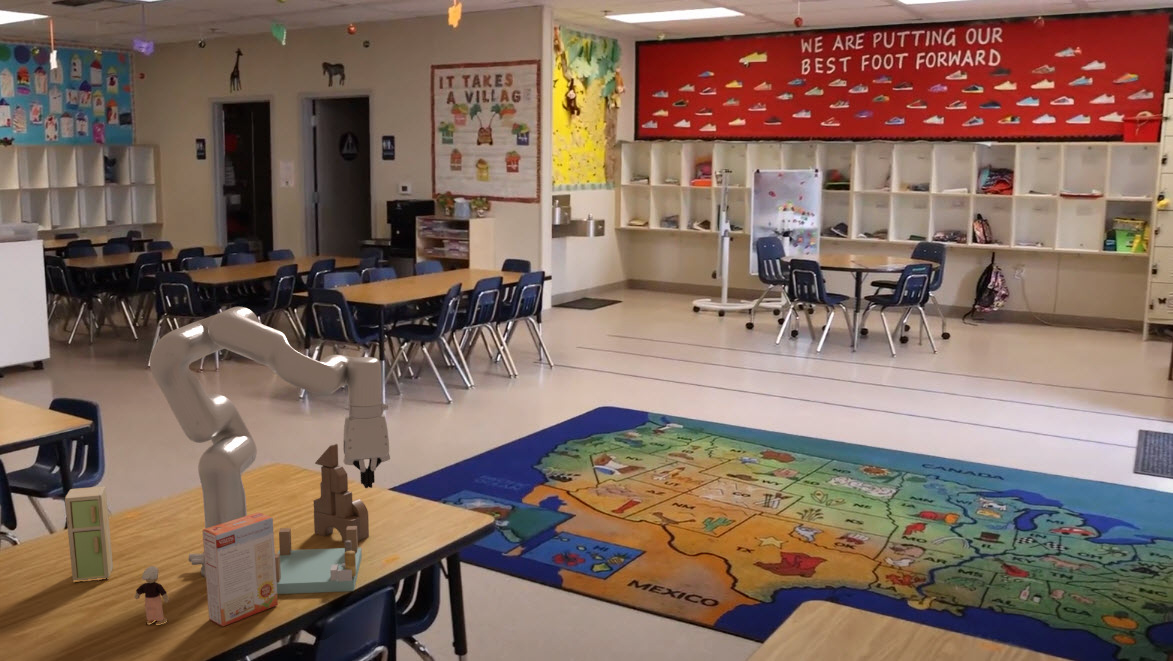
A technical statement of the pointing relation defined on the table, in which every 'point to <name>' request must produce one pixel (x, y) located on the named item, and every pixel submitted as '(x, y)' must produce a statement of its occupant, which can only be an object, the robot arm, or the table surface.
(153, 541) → the table surface
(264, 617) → the table surface
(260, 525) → the cracker box
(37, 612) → the table surface
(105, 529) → the toy refrigerator
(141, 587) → the grandmother figurine
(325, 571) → the mint green baseplate
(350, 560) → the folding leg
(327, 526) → the wooden toy
